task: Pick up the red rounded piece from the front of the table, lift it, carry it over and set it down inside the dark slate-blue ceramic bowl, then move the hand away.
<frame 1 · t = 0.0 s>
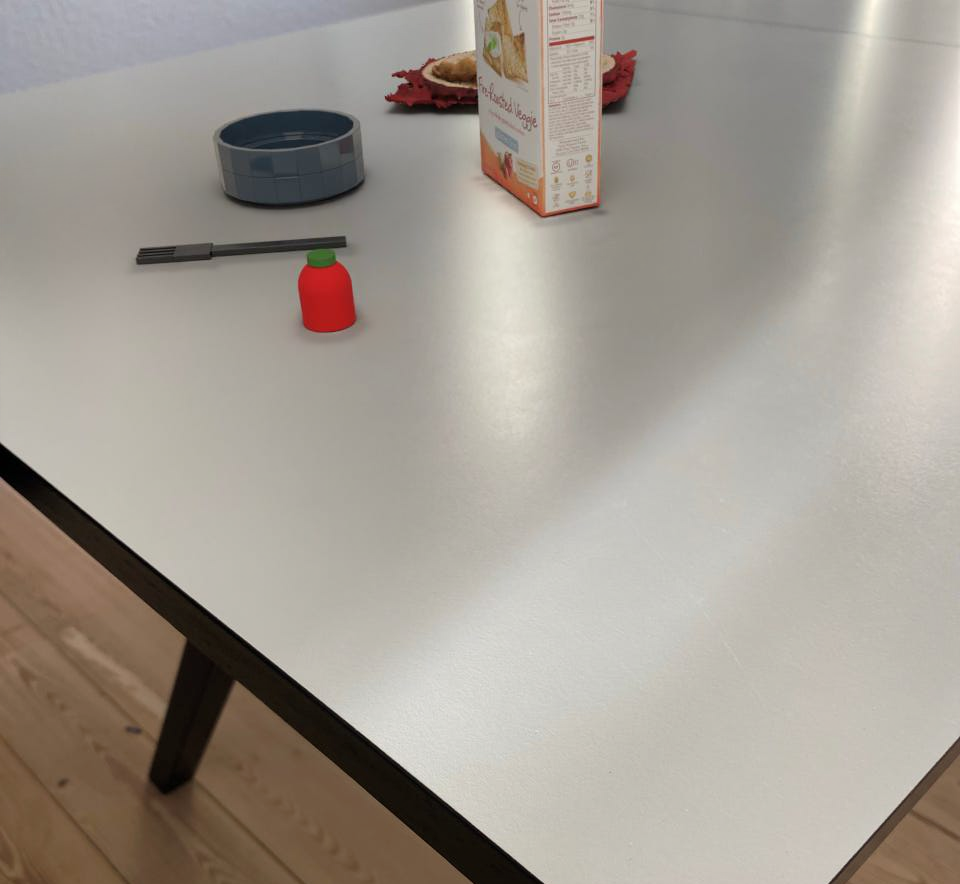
red rounded piece: (329, 320, 81), on the table
bowl: (295, 185, 104), on the table
fork: (249, 251, 92), on the table
cracker box: (537, 192, 101), on the table
plate with food: (517, 87, 128), on the table
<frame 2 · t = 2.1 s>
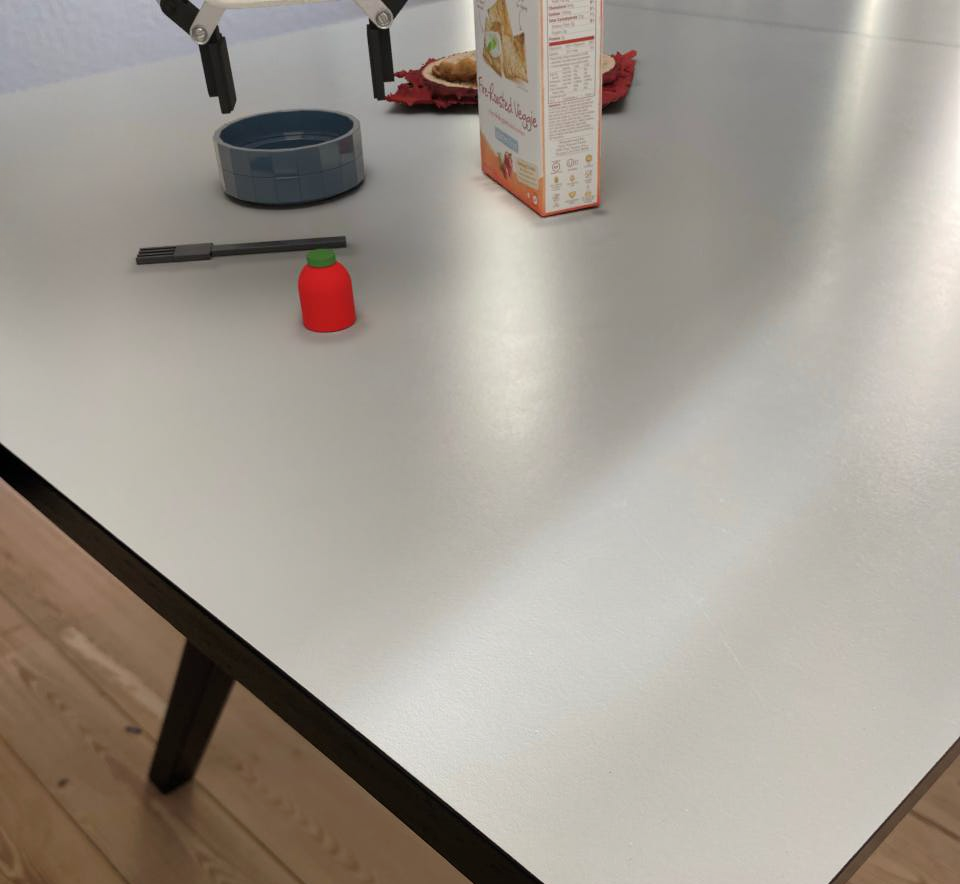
hand: (304, 101, 71), 15 cm above the table, tool pointing down, fingers open, 9 cm apart
nothing on the table moved.
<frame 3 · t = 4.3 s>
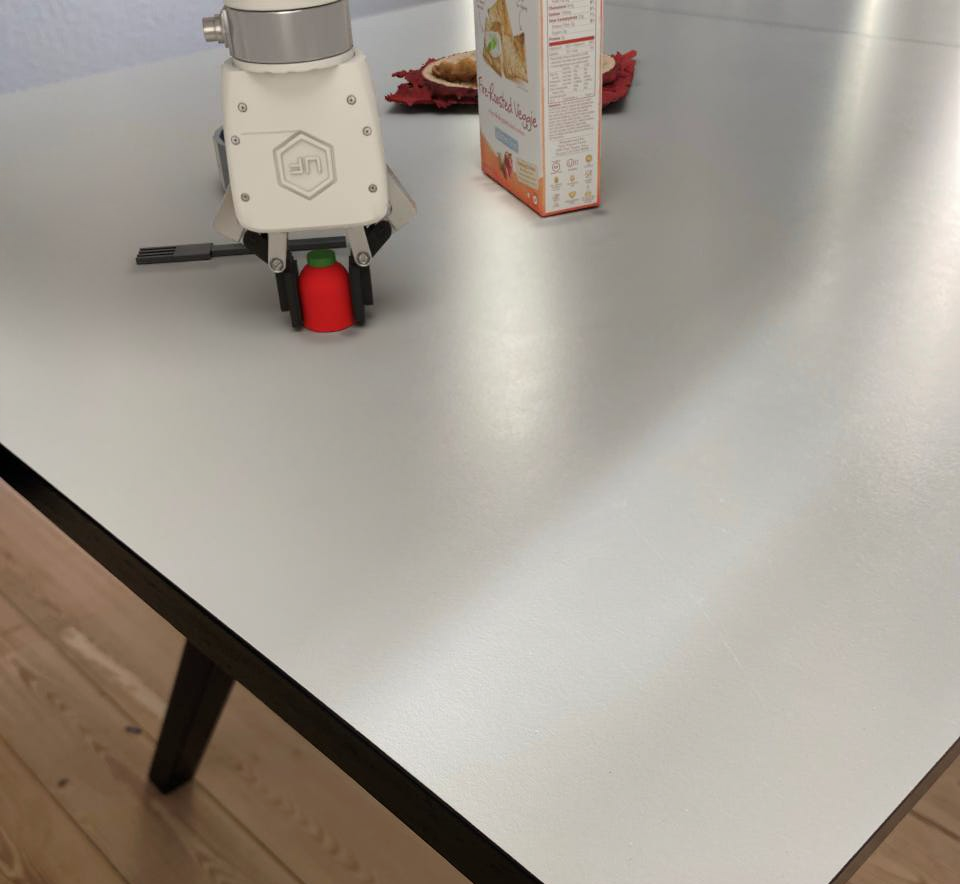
hand: (329, 314, 80), 0 cm above the table, tool pointing down, fingers closed on red rounded piece, 3 cm apart
red rounded piece: (329, 320, 81), on the table, touching gripper
everything else where it was.
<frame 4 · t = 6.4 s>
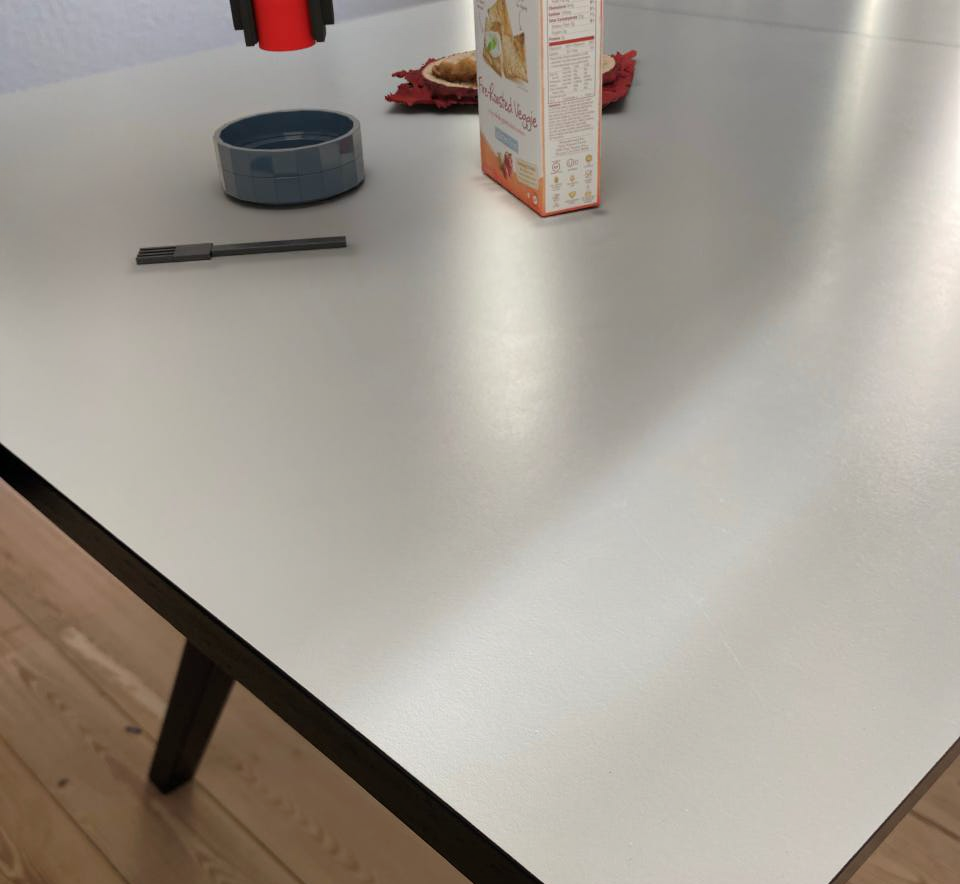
hand: (286, 36, 74), 17 cm above the table, tool pointing down, fingers closed on red rounded piece, 3 cm apart
red rounded piece: (287, 45, 75), point 17 cm above the table, touching gripper
everything else where it was.
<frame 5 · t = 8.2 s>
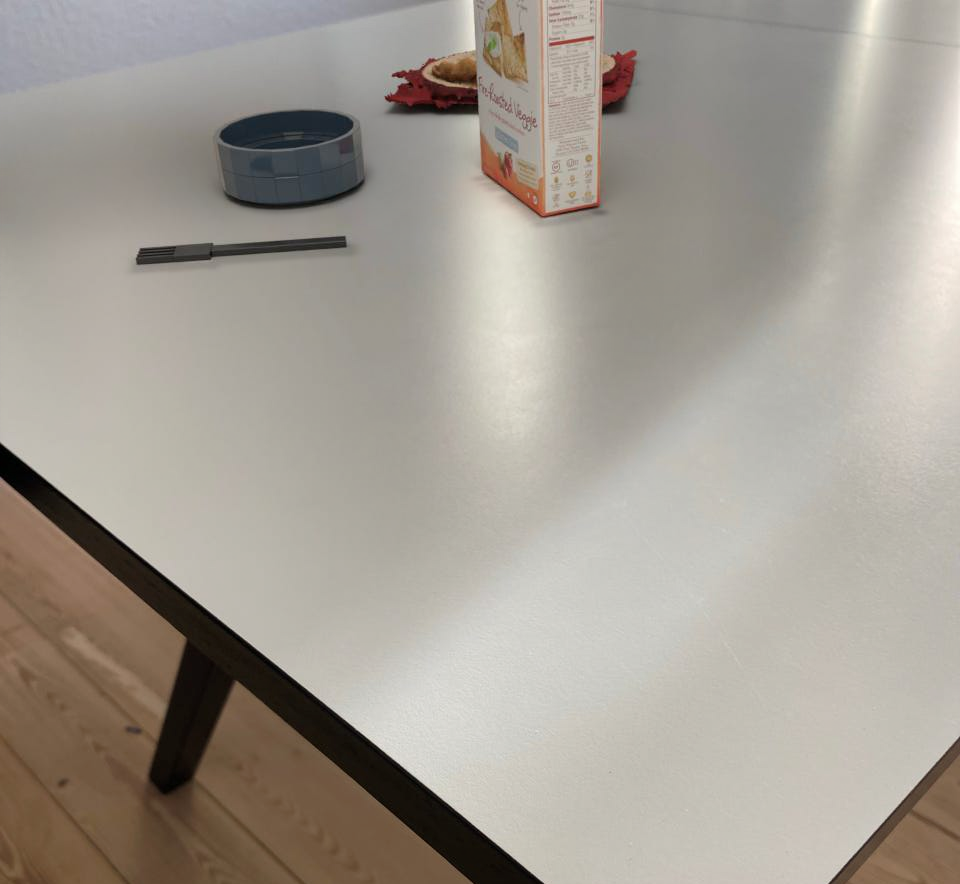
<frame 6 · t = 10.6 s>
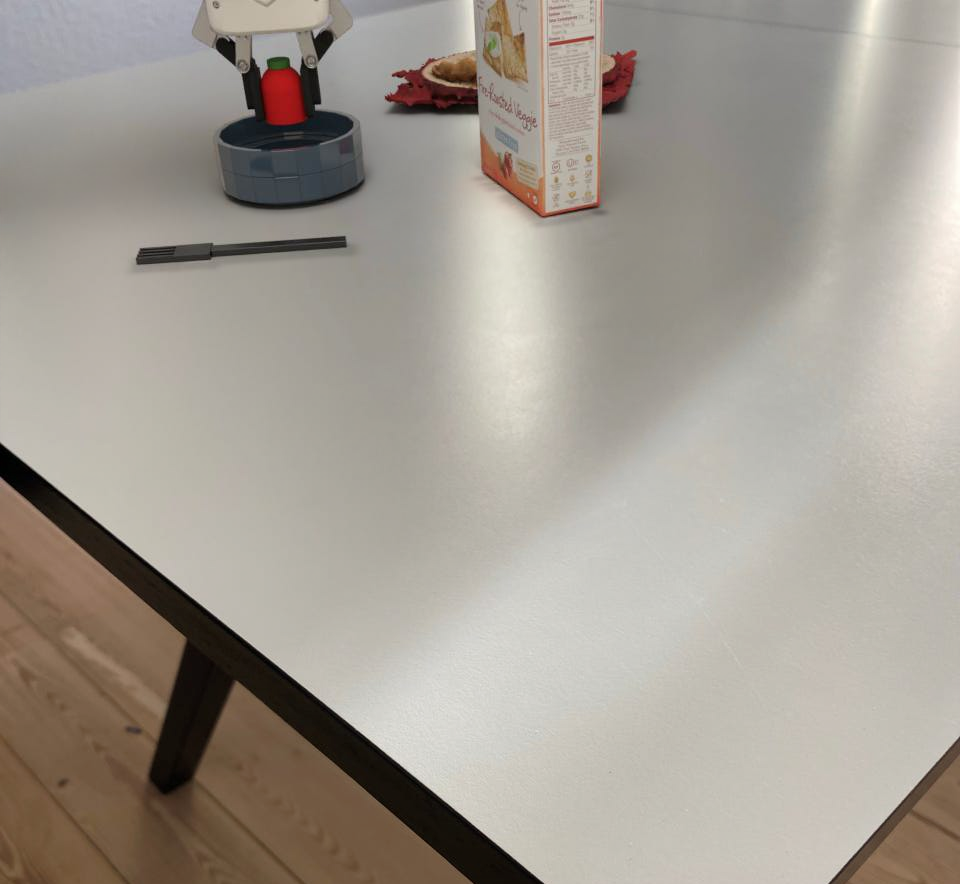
hand: (286, 113, 100), 6 cm above the table, tool pointing down, fingers closed on red rounded piece, 3 cm apart
red rounded piece: (286, 119, 101), point 6 cm above the table, touching gripper
everything else where it was.
when the fingers open (1 cm above the table, at t = 12.9 s): red rounded piece stays where it is, resting on bowl.
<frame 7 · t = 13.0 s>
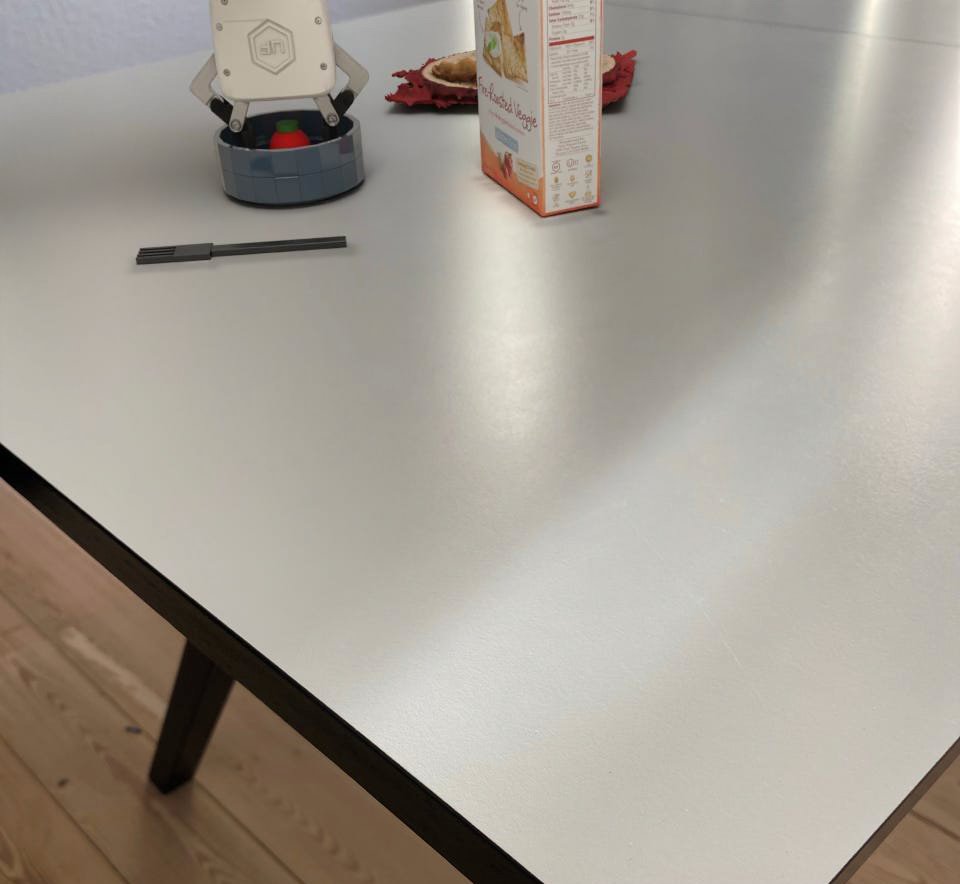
hand: (292, 169, 103), 1 cm above the table, tool pointing down, fingers open, 6 cm apart
red rounded piece: (294, 178, 104), point 1 cm above the table, touching bowl
everything else where it was.
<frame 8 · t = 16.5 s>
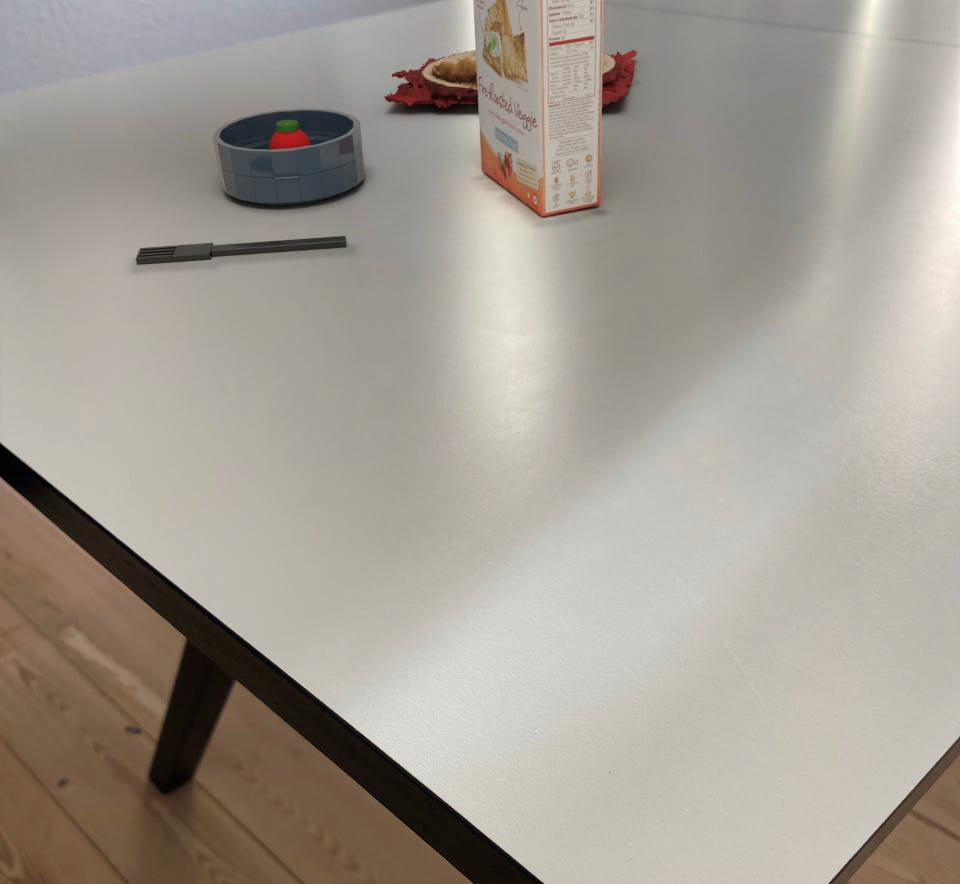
nothing on the table moved.
at the end: red rounded piece inside the target area in the bowl (0.1 cm from its centre), point 0.6 cm above the bowl's base; the gripper is holding nothing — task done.
